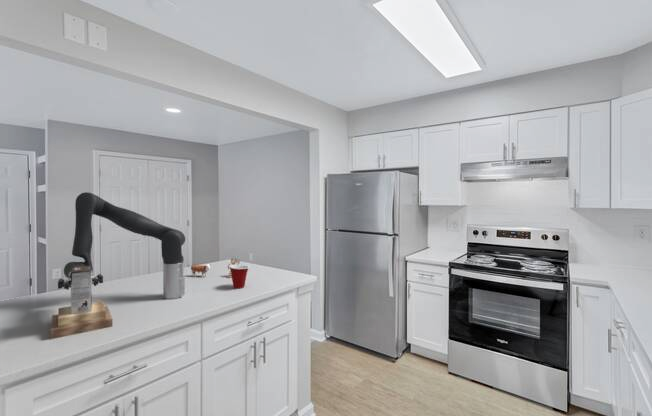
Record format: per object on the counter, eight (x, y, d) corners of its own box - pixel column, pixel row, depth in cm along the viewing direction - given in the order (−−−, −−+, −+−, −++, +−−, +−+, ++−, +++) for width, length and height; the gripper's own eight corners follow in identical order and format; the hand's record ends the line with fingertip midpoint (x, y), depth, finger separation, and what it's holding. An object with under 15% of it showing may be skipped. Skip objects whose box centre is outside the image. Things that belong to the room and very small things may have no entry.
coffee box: (71, 307, 125) (71, 266, 125) (91, 304, 129) (91, 265, 129) (70, 314, 118) (70, 271, 118) (91, 311, 122) (91, 269, 121)
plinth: (107, 312, 136) (107, 299, 136) (112, 326, 123) (112, 311, 122) (52, 322, 125) (52, 307, 125) (50, 339, 111) (50, 322, 111)
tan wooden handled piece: (228, 278, 197) (228, 259, 197) (225, 277, 200) (225, 258, 200) (241, 275, 204) (241, 257, 204) (238, 274, 207) (238, 256, 206)
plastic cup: (252, 288, 177) (252, 266, 177) (232, 291, 171) (232, 268, 170) (245, 283, 186) (245, 263, 186) (226, 286, 180) (226, 265, 179)
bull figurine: (208, 278, 197) (209, 265, 197) (189, 276, 200) (189, 263, 200) (212, 276, 201) (212, 263, 201) (193, 275, 204) (193, 262, 204)
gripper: (58, 270, 130) (57, 278, 117) (100, 265, 139) (104, 272, 126) (58, 288, 130) (57, 298, 117) (100, 282, 139) (104, 291, 126)
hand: (81, 285), depth 122 cm, fingers open, 8 cm apart
